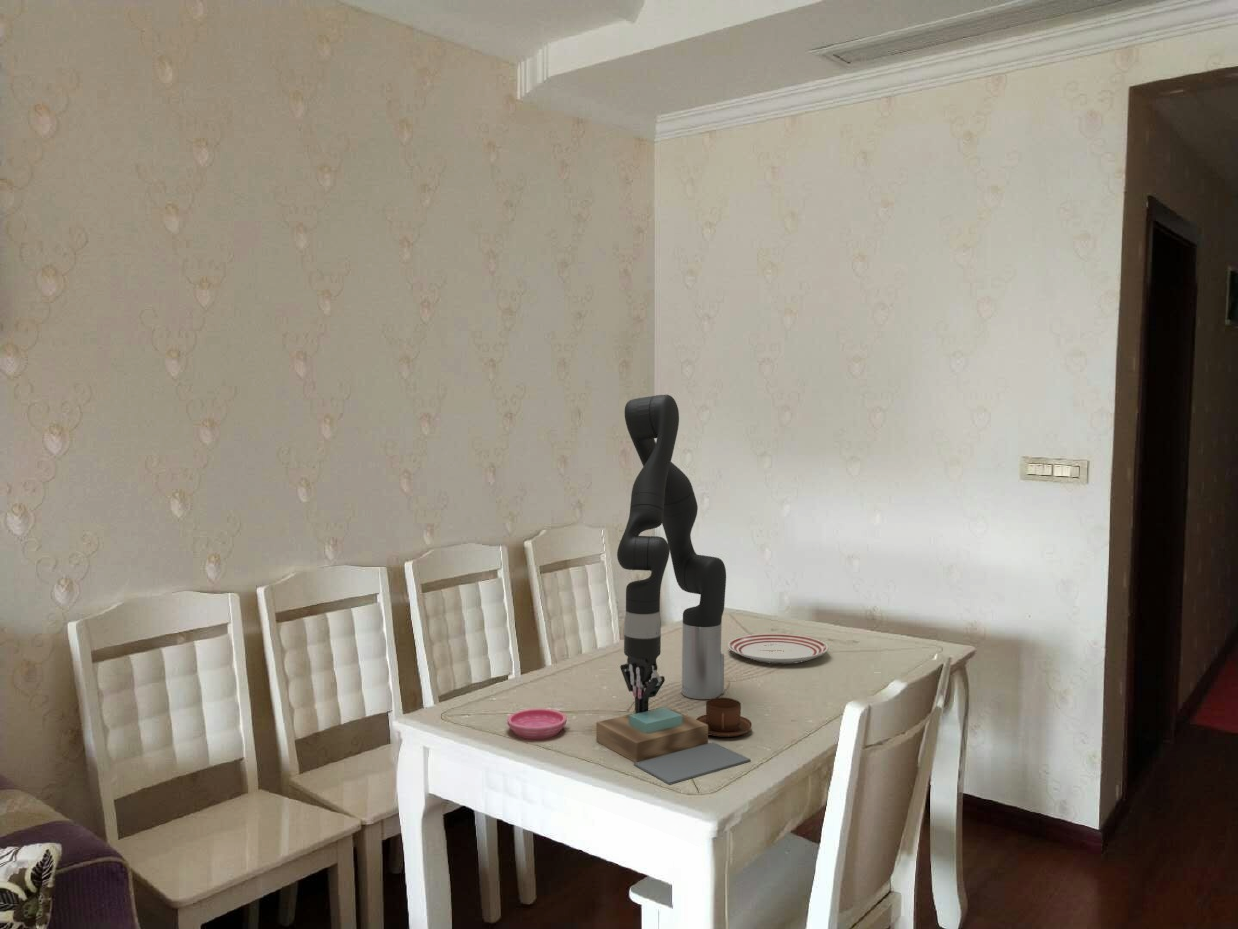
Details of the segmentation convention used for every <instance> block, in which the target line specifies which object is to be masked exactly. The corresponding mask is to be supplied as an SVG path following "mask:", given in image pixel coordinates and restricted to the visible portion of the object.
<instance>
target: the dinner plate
mask: <svg viewBox="0 0 1238 929" xmlns="http://www.w3.org/2000/svg"><path fill="white" fill-rule="evenodd" d="M770 644H774V645H772V646H771V645H770ZM775 644H777V645H775ZM764 645H767V646H764ZM768 645H769V646H768ZM779 645H780V646H779ZM782 645H783V646H782ZM727 648H728V649H729V650H730V651H732V652H733V653H735V654H737V655H739V656H742V657H744V658H748V659H749V658H750V659H749V660H752V659H753V660H752V661H755V660H757V661H756V662H759V661H761V662H760V663H764V662H770V663H769V664H771V663H795V662H801V661H805V662H807V661H810V660H812V659H813V660H814V659H817V658H819V657H820V656H824V654H826V653H827V652H828V651H829V646H828V644H827V643H826V642H824V641H822V640H819V639H817V638H815V637H814V638H813V637H811V636H804V635H798V634H791V633H789V634H788V633H756V634H754V633H753V634H749V635H743V636H738V637H736V638H733V639H731V640H729V641H728V642H727ZM758 650H759V651H758ZM760 650H761V651H760ZM762 650H776V651H773V652H771V651H770V652H769V651H762ZM777 650H782V651H777ZM783 650H784V652H783ZM790 650H791V651H790ZM806 660H807V661H806ZM801 663H802V662H801ZM795 664H796V663H795Z"/></svg>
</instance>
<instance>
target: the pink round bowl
mask: <svg viewBox="0 0 1238 929" xmlns="http://www.w3.org/2000/svg"><path fill="white" fill-rule="evenodd" d="M506 720H507V725H508V727H509V729H511V731H512V732H514V734H515V735H516V736H518V737H520V738H523V739H528V740H543V739H549V738H552V737H554V736H556V735H558V734H559V733H560V732H561V730H562V729H564V727H565V726H566V724H567V716H566V714H565V713H564V712H562V711H559V710H556V709H555V710H554V709H549V708H530V709H523V710H519V711H515V712H514V713H511V714H509V716H508V717H507V719H506Z"/></svg>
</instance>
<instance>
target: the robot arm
mask: <svg viewBox="0 0 1238 929" xmlns="http://www.w3.org/2000/svg"><path fill="white" fill-rule="evenodd" d="M679 412H680V411H679V406H678V403H677V401H676V399H674V397H673V396H672V395H669V394H659V395H658V394H657V395H651V396H645V397H638V398H637V397H636V398H634V399H629V401H627V402H626V404H625V406H624V421H625V424H626V428H627V431H628V433H629V437H630V439H631V442H632V444H633V446H634V448H635V450H636V453H637V454H638V455H637V456H638V457H639V459H640V462H641V464H642V468H641V470H640V471H639V473H638V475H636V478H635V480H634V481H633V482H634V483H633V485H632V488H631V494H630V495H631V496H630V505H629V506H630V508H629V516H628V520H627V524H626V526H625V528H624V531H623V534H622V536H621V539H620V541H619V544H618V548H617V552H616V557H617V561H618V563H619V565H620V566H621V567H622V569H624V570H628V571H629V570H630V571H645V572H648V571H650V572H651V573H650V576H648V577H647V578H644V579H638V580H635V581H630V582H629V583H627V585H626V588H625V614H624V615H625V616H624V623H623V624H624V627H623V631H624V632H623V633H624V635H623V653H624V655H625V656H626V657H627V659H626V663H624V664H621V665H620V667H619V668H620V671H621V674H622V676H623V679H624V682H625V685H626V688H627V690H628V692H629V693H630V692H632V694H633V697H634V711H635V712H634V713H635V714H637V713H641V712H646V711H648V710H649V699H650V698H652V697H653V698H654V697H656V696H657V694H658V692H659V691H660V689H661V687H662V686H663V684H664V683H665V681H666V679H665V676H664V675H661V676H660V675H659V673H658V664H657V658H658V657H659V656H660V655H661V652H662V650H661V647H662V645H661V642H662V641H661V637H662V634H661V632H662V630H661V629H662V623H661V622H662V621H661V620H662V619H661V613H660V612H661V606H660V605H661V588H662V587H661V586H662V584H663V583H662V582H663V578H664V574H665V571H666V568H667V564H668V561H669V559H670V558H671V562H672V568H673V573H674V576H675V579H676V582H677V585H678V587H679V588H680V589H681V590H682V591H684V592H686V593H689V594H696V595H700V599H699V604H698V605H696V606H692V607H688V608H686V609H684V610H683V611H682V612H683V613H682V641H681V643H682V646H681V647H682V649H681V650H682V652H681V654H682V657H681V694H682V695H683V696H684V697H686V698H688V699H694V700H709V699H713V698H719V697H720V696H721V695H722V694H724V692H725V691H724V690H725V688H724V686H725V654H724V653H722V620H723V614H724V610H725V604H726V603H725V600H726V599H725V598H726V586H727V572H726V571H727V569H726V566H725V565H726V564H725V563H724V561H723V560H722V559H721V558H720V557H717V556H709V555H702V554H698V553H697V552H696V551H695V549H694V545H693V542H692V538H691V535H692V534H691V533H692V530H693V528H694V524H695V522H696V519H697V517H698V516H697V515H698V502H697V499H696V495H695V491H694V489H693V486H692V483H691V480H690V479H689V477H688V476H687V475H686V474H685V473H684V471H682V470H681V469H680V468H679V467H678V466H677V465H676V464H675V463H673V462H672V458H673V454H674V449H675V445H676V441H677V440H676V439H677V435H678V430H679V425H680V424H679V423H680V413H679ZM655 439H656V441H655ZM660 526H662V528H663V531H664V535H665V538H664V537H661V536H656V535H655V536H654V535H653V536H652V535H640V534H642V532H645V531H648V530H654V529H657V528H659V527H660ZM669 556H670V557H669Z"/></svg>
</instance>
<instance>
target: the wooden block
mask: <svg viewBox="0 0 1238 929" xmlns="http://www.w3.org/2000/svg"><path fill="white" fill-rule="evenodd" d="M664 707H665V708H667V709H669V710H671V711H674V712H676V713H678V714H680V715H682V725H680V726H676V727H672V728H668V729H664V730H659V731H655V732H651V733H647V734H646V733H644V732H642V731H640V730H638V729H636V728H634V727H632V726H630V725H629V715H632V714H635V712H634V713H630V714H627V715H623V716H618V717H613V718H608V719H605V720H601V721H596V722H595V724H596V726H595V729H596V730H595V734H596V735H595V736H596V738H595V742H597V743H598V744H600V745H602V746H604V747H606V748H607V749H610V750H612V751H613V752H615V753H616V754H619V755H620V756H623V758H626V759H627V760H630V761H631V762H633V763H636V762H640V761H644V760H648V759H651V758H655V757H659V756H663V755H666V754H670V753H674V752H678V751H681V750H685V749H689V748H693V747H697V746H700V745H704V744H708V743H709V734H708V725H707V724H705V723H703V722H700V721H698V720H696V719H697V718H693V717H691V716H689V715H687V714H684V713H682V712H681V711H677V710H675V709H672V708H671V707H668V706H666V705H665V706H662V707H661V706H660V707H657V708H653V709H652V708H651V709H648V711H650V710H655V709H659V708H664Z"/></svg>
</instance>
